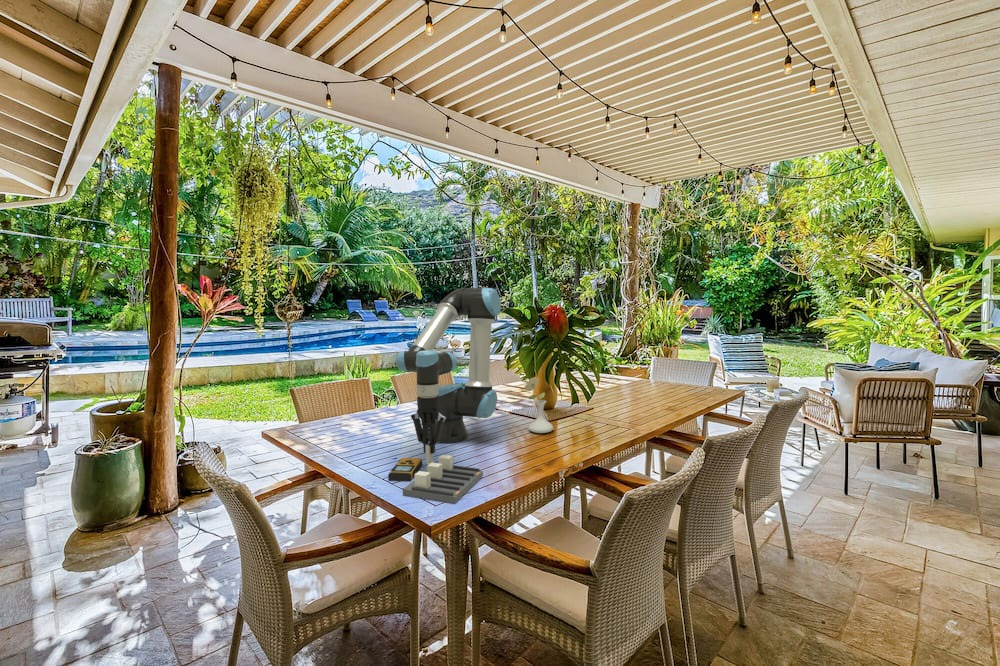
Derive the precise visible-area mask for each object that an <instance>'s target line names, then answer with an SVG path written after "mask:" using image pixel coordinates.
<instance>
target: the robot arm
mask: <svg viewBox="0 0 1000 666" xmlns="http://www.w3.org/2000/svg"><path fill="white" fill-rule="evenodd" d="M501 310H502V304H501V299H500V295H499V293H498V291H497V290H496V289H495V288H491V287H462V288H458V289H456V290H453V291H451V292H450V293H449V294H447V295H446V296H445V297H444V298H443V299H442V300H441V301H440V302H439V303H438V305H437V306H436V312H435V313H434V314H433V316H432V317H431V319H430V320H429V321H428V323H427V324H426V325H425V327H424V329H423V330H421V332H420V334H419V335H418V337H417V338H416V339H415V340H414V342H413V343H412V345H411V346H410V348H409V349H408V350H404V351H403V350H402V351H400V352H399V353H398V354H397V355H396V358H395V364H396V368H397V369H398V370H399V371H402V372H407V373H416V395H417V398H416V403H417V410H416V412H415V413H413V414H411V415H410V418H411V420H412V421H413V424H414V429H415V433H416V437H417V441H418V442H419V443H421V444H422V447H423V453H424V454H425V464H428V465H429V464H430V463H431V462H432V463H434V454H435V453H436V445H437V444H438V443H439V444H441V443H442V444H455V443H461V442H463V441H465V440H467V439H468V431H467V428H466V425H465V422H464V417H470V418H477V419H488V418H490V417H491V416H492V415H493V414H494V412H495V410H496V408H497V404H498V395H497V392H496V391H495V390H493V385H492V383H491V382H490V363H491V362H490V361H491V341H492V324H493V323H494V322H495V321H496V317H498V316H499V315H500V313H501ZM461 316H467V320H468V322H469V323H470V335H469V336H470V337H469V338H470V339H469V361H468V380H467V382H466V383H465V384H464V386H463V384H462V383H450V384H449V383H447V384H443V385H441V386H440V385H439V381H440V380H439V376H441V375H444V374H449V373H451V372H453V371H454V370H455V369H456V368H457V365H458V364H457V363H458V361H457V357H456V355H455V354H454V353H453V352H450V351H447V352H446V351H442V352H438V351H436V350H435V349H434V348H435V347H436V345H438V343H439V342H440V340H441V338H442V337H443V336H444V334H445V333H446V330H448V328H449V327H450V326H451V324H452V323H453V322H455V321H456V320H457V319H458V318H459V317H461Z"/></svg>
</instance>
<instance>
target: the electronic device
mask: <svg viewBox="0 0 1000 666" xmlns="http://www.w3.org/2000/svg"><path fill="white" fill-rule="evenodd" d="M422 466H423V459H422V458H420V457H418V458H416V457H402V458H401V459H399V460H398V462H397V463H396V464H395V465H394V467H392V469H391V470H390V472H389V473H388V475H387V479H388V481H389V482H412V479H414V478H415V475H414V474H416V473H417V472H419V471H420V470H421V467H422Z"/></svg>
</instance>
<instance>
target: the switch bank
mask: <svg viewBox="0 0 1000 666" xmlns="http://www.w3.org/2000/svg"><path fill="white" fill-rule="evenodd" d="M442 474H443V477H442V478H441V479H436V478H431V487H430V488H428V489H427V488H420V487H415V479H414V480H413V481H411V482H410V483H409V484H408V485H406V486H405V487H404V488H402V496H404V497H405V496H406V497H411V498H418V499H423V500H429V501H434V502H435V501H437V502H442V503H447V504H448V503H449V504H454V505H455V504H457V502H458V501H459V500H461V498H463V496H465V494H467V493H468V492H469V491H468V490H469V489H470V488H471V487H472V486H473V485H474V484H475V483H476V482H477V481H478V480H479V479H480V478H481V477H482V476H483V477H484V470H481V469H480V468H476V467H468V466H464V465H463V466H461V465H454V464H453V469H452V470H446V469H442ZM483 477H482V478H483ZM482 478H481V479H482ZM481 479H480V480H481ZM480 480H479V481H480ZM479 481H478V482H479ZM478 482H477V483H478ZM477 483H476V484H477ZM476 484H475V485H476ZM475 485H474V486H475ZM474 486H473V487H474ZM473 487H472V488H473ZM472 488H471V489H472ZM471 489H470V490H471ZM467 491H468V492H467Z"/></svg>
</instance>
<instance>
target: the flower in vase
mask: <svg viewBox="0 0 1000 666" xmlns="http://www.w3.org/2000/svg"><path fill="white" fill-rule="evenodd" d="M539 381H540V379H539V377H536V376H534V377H531V378H530V379H528V381H526V384H525V385H524V391H526V392H531V391H533V390H534V393H535V394H532V395H530V396H529V398H528V400H534V402H535V404H536V405H537V418H535V419H534V420H533V421H532V422H531V423H530V424H529V425H528V427H527V429H528V430H529V431H531V432H533V433H536V434H537V433H538V434H546V433H549V432H552V431H553V430H554V426H553V424H552V423H550V421H548V420H547V419H546V418H545V416H544V407H545V405H546V403H547V400H544V399H543V398H544V397H545V395H546V393H545V391H544V392H542V393H540V394H539V395H538V394H537V391H536V387H537V386H538V385H539ZM536 398H537V400H535V399H536Z"/></svg>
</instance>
